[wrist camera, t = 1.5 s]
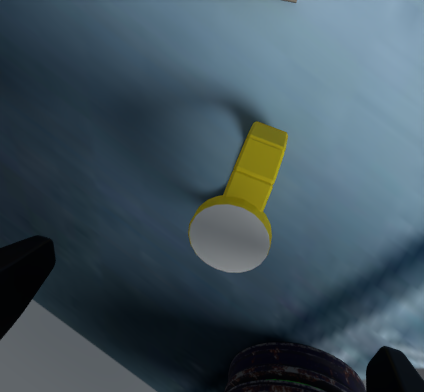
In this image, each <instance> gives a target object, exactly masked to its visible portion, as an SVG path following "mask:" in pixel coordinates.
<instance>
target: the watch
mask: <svg viewBox="0 0 424 392" xmlns="http://www.w3.org/2000/svg"><path fill="white" fill-rule="evenodd" d="M287 139H288V135H287V132H284V131H282V130H279V129H276V128H274V127H271V126H268V125H266V124H263V123H260V122H258V121H256V122H254V123H253V125H252V127H251V129H250V131H249V133H248V135H247V138H246V140H245V142H244V145H243V147H242V150H241V152H240V154H239V157H238V159H237V162H236V164H235V166H234V169H233V170H234V171H232V174H231V176H230V179H229V181H228V184H227V186H226V189H225V191H224V194H223V195H221V196H216V197H214V198H211V199H208V200H207V201H205V202H204V203H203V204H202V205H201V206H199V208H198V209H197V211H196V213H195V215H194V216H193V218H192V220H191V222H190V224H189V231H188V236H189V240H190V244H191V246H192V248H193V250H194V251H195V253H196V254H197V255H198V256H199V257H200V258H201V259H202V260H203V261H204V262H205V263H207V264H208V265H210V266H212V267H214V268H215V269H218V270H222V271H225V272H236V273H240V272H244V271H249V270H252V269H253V268H255V267H257V266H258V265H260V264H261V263H262V262H263V260H264V259H265V258H266V257H267V255H268V252H269V249H270V245H271V237H272V233H271V225H270V223H269V220H268V218H267V216H266V214H265V213H264V212H263V210H264V208H265V205H266V203H267V200H268V198H269V195H270V193H271V190H272V188H273V186H272V185H273V184H274V182H275V180H276V177H277V174H278V171H279V168H280V165H281V162H282V159H283V156H284V152H285V149H286V144H287Z"/></svg>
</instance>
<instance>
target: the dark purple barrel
mask: <svg viewBox="0 0 424 392" xmlns="http://www.w3.org/2000/svg"><path fill="white" fill-rule="evenodd" d="M225 392H366V390H365V387H364V384H363V382H362V380H361V379H360V377H359V376H358V374H357V373H356V372H355V371H354V370H353V369H352V368H351V367H349V366H348V365H347V364H345V363H344V362H343V361H341V360H339V359H338V358H336V357H334V356H333V355H330V354H328V353H326V352H324V351H321V350H318V349H315V348H312V347H309V346H304V345H300V344H293V343H282V342H273V343H263V344H258V345H254V346H251V347H249V348H246V349H245V350H243V351H241V352H240V353H239V354H237V355H236V356H235V357H234V359H233V360H232V362H231V365H230V368H229V373H228V383H227V385H226V388H225Z"/></svg>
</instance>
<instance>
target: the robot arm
mask: <svg viewBox="0 0 424 392" xmlns="http://www.w3.org/2000/svg"><path fill="white" fill-rule="evenodd" d="M55 261H56V258H55V251H54V244H53V241H52V240H51V239H50V238H47V237H44V236H40V235H36V236H33V237H30V238H27V239H24V240H21V241H19V242H16V243H13V244H10V245H8V246H5V247H2V248H0V340H1V339H2V338H3V336H4V335H5V334H6V333H7V332H8V330H9V329H10V328H11V327H12V326H13V324H14V323H15V322H16V321H17V319H18V318H19V317H20V316H21V314H22V313H23V312H24V310H25V309H26V307H27V306H28V304H29V303H30V301H31V300H32V299H33V297H34V296H35V294H36V293H37V291H38V290H39V288H40V287H41V285H42V284H43V282H44V281H45V279H46V278H47V277H48V275H49V274H50V272H51V271H52V269H53V267H54V265H55ZM366 392H424V380H423V379H422V377H421V376H420V375H419V374H418V372H417V371H416V369H415V368H414V367H413V365H412V364H411V363H410V361H409V360H408V359H407V357H406V356H405V355H404V354H403V353H402V352H401V351H399V350H396V349H393V348H390V347H387V346H383V347H381V348H380V349H379V350H378V352H377V353H376V354H375V356H374V357H373V358H372V359H371V361H370V362H369V363H368V366H367V369H366Z"/></svg>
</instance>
